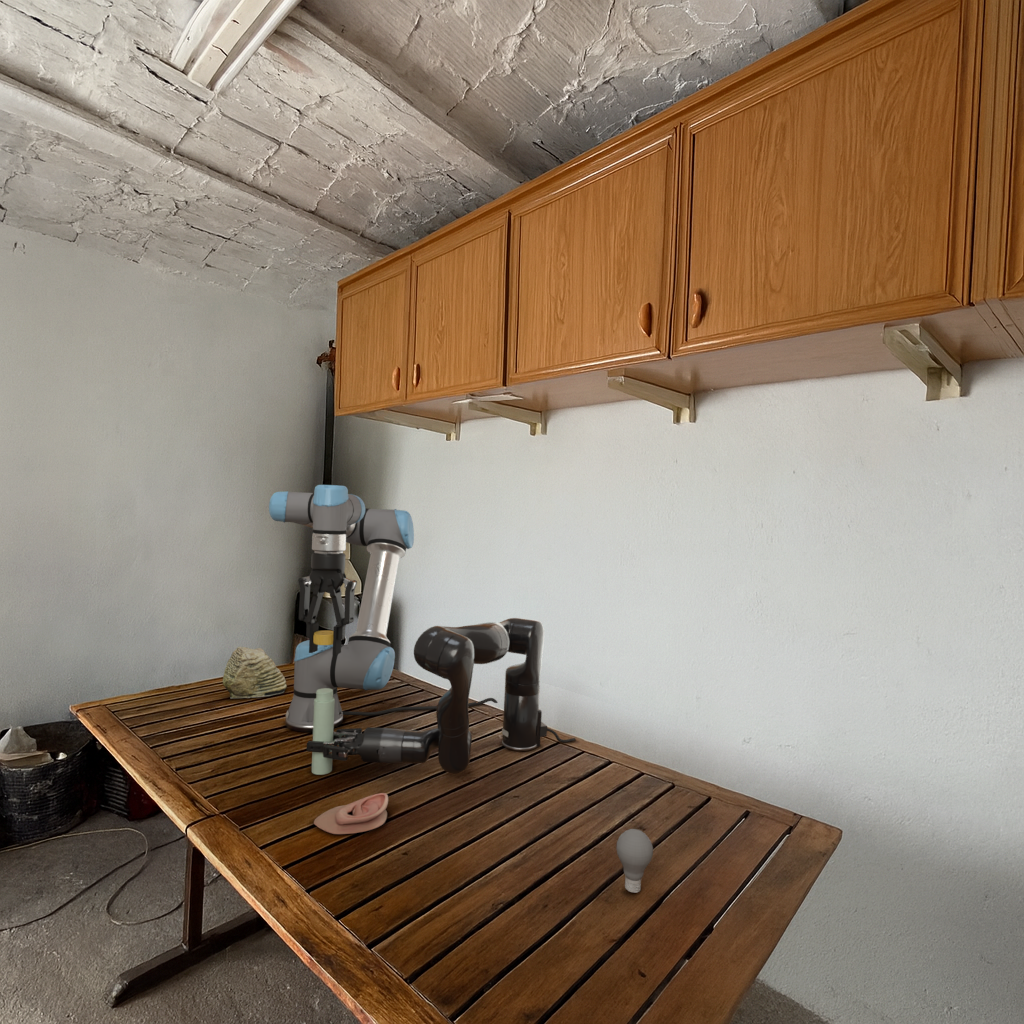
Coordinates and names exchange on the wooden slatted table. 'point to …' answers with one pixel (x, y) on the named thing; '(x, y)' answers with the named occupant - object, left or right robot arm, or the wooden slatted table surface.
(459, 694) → the right robot arm
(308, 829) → the wooden slatted table surface
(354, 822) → the anatomical model
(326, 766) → the pale green cylindrical bottle
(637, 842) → the light bulb
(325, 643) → the lid
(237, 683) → the fossil
